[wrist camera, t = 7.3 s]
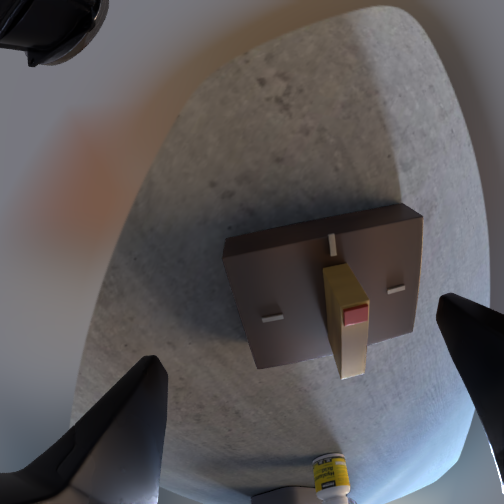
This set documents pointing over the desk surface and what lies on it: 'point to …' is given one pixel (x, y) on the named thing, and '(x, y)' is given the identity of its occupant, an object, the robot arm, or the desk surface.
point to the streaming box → (288, 496)
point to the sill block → (312, 282)
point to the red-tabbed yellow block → (346, 319)
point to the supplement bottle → (331, 478)
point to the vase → (351, 501)
